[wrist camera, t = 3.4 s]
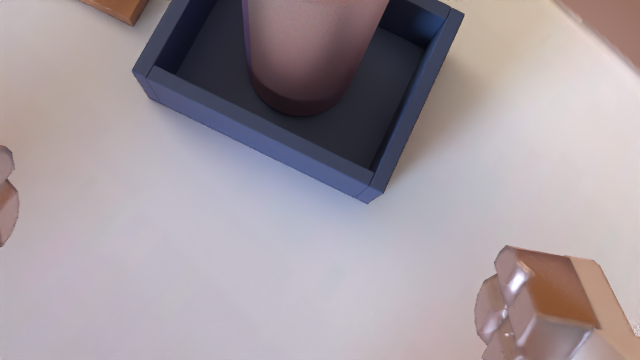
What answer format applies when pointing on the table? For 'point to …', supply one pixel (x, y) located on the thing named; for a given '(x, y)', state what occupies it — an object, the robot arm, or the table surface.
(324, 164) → the open storage box
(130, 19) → the coaster
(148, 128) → the table surface
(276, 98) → the beverage can
